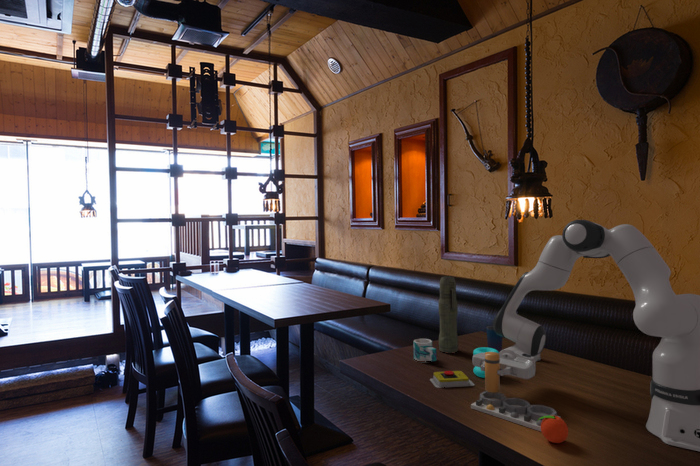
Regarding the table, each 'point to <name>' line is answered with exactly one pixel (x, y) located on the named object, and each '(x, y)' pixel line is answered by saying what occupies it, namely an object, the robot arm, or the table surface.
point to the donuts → (478, 350)
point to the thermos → (448, 315)
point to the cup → (493, 339)
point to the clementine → (554, 428)
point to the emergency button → (450, 379)
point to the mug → (424, 350)
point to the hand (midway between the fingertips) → (490, 370)
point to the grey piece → (512, 409)
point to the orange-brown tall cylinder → (492, 372)
